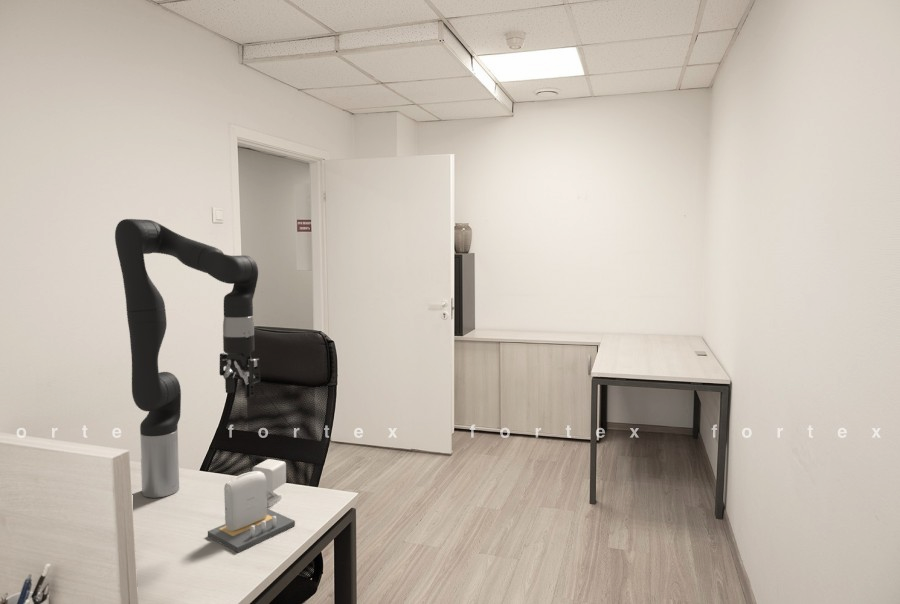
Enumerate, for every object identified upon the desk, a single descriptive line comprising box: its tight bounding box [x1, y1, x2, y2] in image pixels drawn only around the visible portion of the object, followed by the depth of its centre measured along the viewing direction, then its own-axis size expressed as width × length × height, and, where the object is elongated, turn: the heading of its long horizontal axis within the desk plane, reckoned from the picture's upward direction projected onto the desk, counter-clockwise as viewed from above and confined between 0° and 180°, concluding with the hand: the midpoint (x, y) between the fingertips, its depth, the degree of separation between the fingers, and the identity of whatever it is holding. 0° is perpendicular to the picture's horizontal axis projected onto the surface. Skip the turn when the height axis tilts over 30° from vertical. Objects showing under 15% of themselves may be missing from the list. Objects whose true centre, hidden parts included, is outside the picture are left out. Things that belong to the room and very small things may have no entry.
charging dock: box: [207, 508, 296, 553], centre depth 140 cm, size 12×16×4 cm
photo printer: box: [223, 470, 268, 531], centre depth 141 cm, size 10×4×12 cm, turn 141°
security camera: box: [252, 458, 287, 508], centre depth 157 cm, size 6×7×10 cm
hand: (239, 395), depth 150 cm, fingers open, 8 cm apart
